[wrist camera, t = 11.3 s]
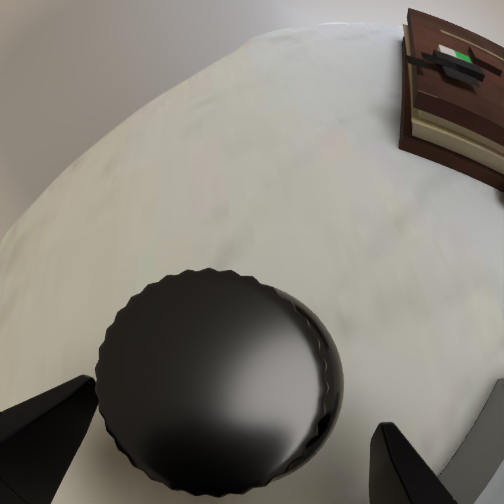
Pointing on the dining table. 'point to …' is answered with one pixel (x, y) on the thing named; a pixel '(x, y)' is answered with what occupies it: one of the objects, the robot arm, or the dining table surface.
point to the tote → (480, 457)
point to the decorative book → (453, 98)
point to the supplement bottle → (218, 382)
